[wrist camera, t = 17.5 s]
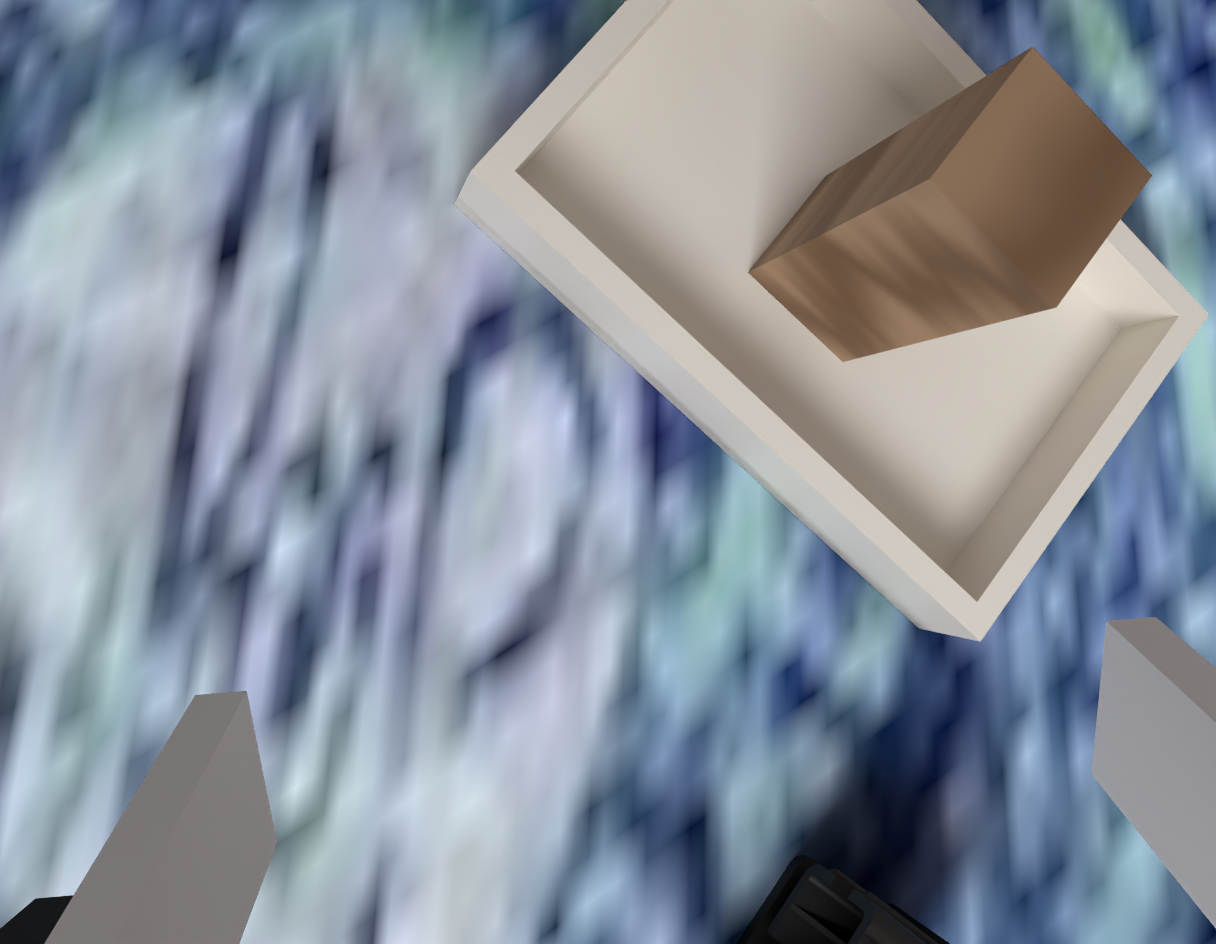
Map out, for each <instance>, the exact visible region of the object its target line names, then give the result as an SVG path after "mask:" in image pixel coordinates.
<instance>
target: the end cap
mask: <svg viewBox="0 0 1216 944" xmlns="http://www.w3.org/2000/svg"><path fill="white" fill-rule="evenodd" d="M737 944H950V943H948V942H947V941H945V940H944V939H942V938H941V937H939V936H938V935H937V934H935V933H934V932H932V931H931V930H929V929H928V928H927V927H925V926H924V925H922V924H921V923H919V922H918V921H916V920H915V919H914V918H912V917H911V916H909V915H908V914H906V913H905V912H903V911H902V910H901V909H899V908H898V907H896V906H895V905H893V904H888V905H887V904H886V903H885V902H883V901H882V900H881V899H879V898H878V897H877V896H876V895H874V894H873V893H872V892H870V891H866V890H865V889H864V888H862V887H861V886H860V885H858V884H857V883H856V882H854V881H853V880H852V879H851V878H849V877H848V876H847V875H845V874H844V873H843V872H841V871H840V870H839V869H836V868H835V869H829V870H827V869H826V868H825V867H823V866H822V865H820V864H818V863H817V862H816V861H814V860H813V859H811V858H809V857H807V856H804V855H803V856H798V857H796V858H795V859H794V860H793V861H792V862H791V863H790V864H789V866H788V867H787V869H786V870H785V872H784V873H783V875H782V876H781V878H780V879H779V881H778V882H777V884H776V885H775V887H774V888H773V890H772V891H771V893H770V894H769V896H768V897H767V899H766V900H765V902H764V903H763V905H762V906H761V908H760V909H759V911H758V913H757V914H756V916H755V917H754V919H753V920H752V922H751V923H750V925H749V926H748V928H747V929H746V931H745V932H744V934H743V935H742V937H741V938H740V940H739V941H738V943H737Z"/></svg>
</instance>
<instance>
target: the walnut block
mask: <svg viewBox="0 0 1216 944" xmlns="http://www.w3.org/2000/svg"><path fill="white" fill-rule="evenodd" d="M1151 176H1152V175H1151V174H1150V173H1149V172H1148V171H1147V169H1146V168H1145V167H1144V166H1143V165H1142V164H1141V163H1140V162H1139V161H1138V160H1137V159H1136V158H1135V157H1134V155H1133V154H1132V153H1131V152H1130V151H1129V150H1128V149H1127V148H1126V147H1125V146H1124V145H1123V144H1122V143H1121V141H1120V140H1119V139H1118V138H1117V137H1116V136H1115V135H1114V134H1113V133H1112V132H1111V131H1110V130H1109V128H1108V127H1107V126H1106V125H1105V124H1104V123H1103V122H1102V121H1101V120H1100V119H1099V118H1098V117H1097V116H1096V114H1095V113H1094V112H1093V111H1092V110H1091V109H1090V108H1089V107H1088V106H1087V105H1086V104H1085V103H1084V102H1083V100H1082V99H1081V98H1080V97H1079V96H1078V95H1077V94H1076V93H1075V92H1074V91H1073V90H1072V89H1071V87H1070V86H1069V85H1068V84H1067V83H1066V82H1065V81H1064V80H1063V79H1062V78H1061V77H1060V76H1059V75H1058V73H1057V72H1056V71H1055V70H1054V69H1053V68H1052V67H1051V66H1050V65H1049V64H1048V63H1047V62H1046V61H1045V59H1044V58H1043V57H1042V56H1041V55H1040V54H1039V53H1038V52H1037V51H1036V50H1035V49H1034V48H1033V47H1031V48H1030V49H1028V50H1027V51H1025V52H1023V53H1022V54H1020V55H1019V56H1017V57H1015V58H1014V59H1012V60H1011V61H1009V62H1007V63H1006V64H1004V65H1003V66H1001V67H999V68H998V69H996V70H995V71H993V72H991V73H990V74H988V75H987V76H985V77H983V78H982V79H980V80H979V81H977V82H975V83H974V84H972V85H971V86H969V87H967V88H966V89H964V90H963V91H961V92H959V93H958V94H956V95H955V96H953V97H951V98H950V99H948V100H947V101H945V102H943V103H942V104H940V105H939V106H937V107H935V108H934V109H932V110H931V111H929V112H927V113H926V114H924V115H923V116H921V117H919V118H918V119H916V120H915V121H913V122H911V123H910V124H908V125H907V126H905V127H903V128H902V129H900V130H899V131H897V132H895V133H894V134H892V135H891V136H889V137H887V138H886V139H884V140H883V141H881V142H879V143H878V144H876V145H875V146H873V147H871V148H870V149H868V150H866V151H865V152H863V153H862V154H860V155H858V156H857V157H855V158H854V159H852V160H850V161H849V162H847V163H846V164H844V165H842V166H841V167H839V168H838V169H836V170H834V171H833V172H831V173H830V174H828V175H826V176H825V177H824V179H823V180H822V181H821V182H820V184H819V185H818V186H817V187H816V189H815V190H814V191H813V192H812V194H811V195H810V196H809V197H808V199H807V200H806V201H805V202H804V204H803V205H802V206H801V207H800V209H799V210H798V211H797V212H796V213H795V215H794V216H793V217H792V218H791V220H790V221H789V222H788V223H787V225H786V226H785V227H784V228H783V230H782V231H781V232H780V233H779V235H778V236H777V237H776V238H775V240H774V241H773V242H772V243H771V245H770V246H769V247H768V248H767V249H766V251H765V252H764V253H763V254H762V256H761V257H760V258H759V259H758V261H757V262H756V263H755V264H754V266H753V267H752V268H751V269H750V271H749V272H748V273H749V274H750V275H751V276H752V277H753V278H754V279H755V280H756V281H757V282H758V283H759V284H761V285H762V286H763V287H764V288H765V289H766V290H767V291H768V292H769V293H770V294H771V295H772V296H773V297H774V298H775V299H776V300H777V301H778V302H780V303H781V304H782V305H783V306H784V307H785V308H786V309H787V310H788V311H789V312H790V313H791V314H792V315H793V316H794V317H795V318H796V319H798V320H799V321H800V322H801V323H802V324H803V325H804V326H805V327H806V328H807V329H808V330H809V331H810V332H811V333H812V334H813V335H814V336H816V337H817V338H818V339H819V340H820V341H821V342H822V343H823V344H824V345H825V346H826V347H827V348H828V349H829V350H830V351H831V352H832V353H834V354H835V355H836V356H837V357H838V358H839V359H840V360H841V361H842V362H845V361H849V360H853V359H857V358H861V357H865V356H869V355H873V354H877V353H881V352H885V351H889V350H892V349H896V348H900V347H904V346H908V345H912V344H916V343H920V342H924V341H928V340H932V339H935V338H939V337H943V336H947V335H951V334H955V333H959V332H963V331H967V330H971V329H975V328H978V327H982V326H986V325H990V324H994V323H998V322H1002V321H1006V320H1010V319H1014V318H1018V317H1022V316H1025V315H1029V314H1033V313H1037V312H1041V311H1045V310H1049V309H1053V308H1057V306H1058V305H1059V303H1060V302H1061V301H1062V299H1063V298H1064V296H1065V295H1066V294H1067V292H1068V291H1069V290H1070V288H1071V287H1072V285H1073V284H1074V283H1075V281H1076V280H1077V279H1078V277H1079V276H1080V274H1081V273H1082V272H1083V270H1084V269H1085V267H1086V266H1087V265H1088V263H1089V262H1090V261H1091V259H1092V258H1093V256H1094V255H1095V254H1096V252H1097V251H1098V250H1099V248H1100V247H1101V245H1102V244H1103V243H1104V241H1105V240H1106V238H1107V237H1108V236H1109V234H1110V233H1111V232H1112V230H1113V229H1114V227H1115V226H1116V225H1117V223H1118V222H1119V221H1120V219H1121V218H1122V216H1123V215H1124V214H1125V212H1126V211H1127V209H1128V208H1129V207H1130V205H1131V204H1132V203H1133V201H1134V200H1135V198H1136V197H1137V196H1138V194H1139V193H1140V191H1141V190H1142V189H1143V187H1144V186H1145V185H1146V183H1147V182H1148V180H1149V179H1150V178H1151Z"/></svg>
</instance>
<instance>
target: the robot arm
mask: <svg viewBox="0 0 1216 944" xmlns="http://www.w3.org/2000/svg"><path fill="white" fill-rule="evenodd" d="M1092 775H1093V776H1094V778H1095V779H1096V780H1097V781H1098V783H1099V784H1100V785H1101V786H1102V788H1103V789H1104V790H1105V791H1106V793H1107V794H1108V795H1109V796H1110V798H1111V799H1112V800H1113V801H1114V803H1115V804H1116V805H1117V806H1118V808H1119V809H1120V810H1121V811H1122V813H1123V814H1124V815H1125V816H1126V818H1127V819H1128V820H1129V821H1130V822H1131V824H1132V825H1133V826H1134V827H1135V829H1136V830H1137V831H1138V832H1139V834H1140V835H1141V836H1142V837H1143V839H1144V840H1145V841H1146V842H1147V844H1148V845H1149V846H1150V847H1151V849H1152V850H1153V851H1154V852H1155V854H1156V855H1157V856H1158V857H1159V859H1160V860H1161V861H1162V862H1163V863H1164V865H1165V866H1166V867H1167V868H1168V870H1169V871H1170V872H1171V873H1172V875H1173V876H1174V877H1175V878H1176V880H1177V881H1178V882H1179V883H1180V885H1181V886H1182V887H1183V888H1184V890H1185V891H1186V892H1187V893H1188V895H1189V896H1190V897H1191V898H1192V900H1193V901H1194V902H1195V903H1196V904H1197V906H1198V907H1199V908H1200V909H1201V911H1202V912H1203V913H1204V914H1205V916H1206V917H1207V918H1208V919H1209V921H1210V922H1211V923H1212V924H1213V926H1214V927H1215V928H1216V668H1215V667H1214V666H1213V665H1211V664H1210V663H1209V662H1208V661H1207V660H1205V659H1204V658H1203V657H1202V656H1201V655H1200V654H1198V653H1197V652H1196V651H1195V650H1194V649H1193V648H1191V647H1190V646H1189V645H1188V644H1187V643H1185V642H1184V641H1183V640H1182V639H1181V638H1180V637H1178V636H1177V635H1176V634H1175V633H1174V632H1173V631H1171V630H1170V629H1169V628H1168V627H1167V626H1165V625H1164V624H1163V623H1162V622H1161V621H1160V620H1158V619H1157V618H1156V617H1151V618H1139V619H1127V620H1114V621H1106V631H1105V641H1104V652H1103V662H1102V672H1101V682H1100V692H1099V703H1098V713H1097V723H1096V733H1095V743H1094V754H1093V764H1092ZM276 844H277V841H276V836H275V831H274V826H273V821H272V816H271V811H270V806H269V801H268V796H267V791H266V786H265V781H264V776H263V771H262V766H261V761H260V756H259V751H258V746H257V741H256V736H255V731H254V726H253V721H252V716H251V711H250V706H249V701H248V696H247V691H241V692H228V693H216V694H204V695H195V697H194V698H193V700H192V702H191V703H190V705H189V706H188V708H187V710H186V711H185V713H184V715H183V716H182V718H181V720H180V721H179V723H178V725H177V726H176V728H175V729H174V731H173V733H172V734H171V736H170V738H169V739H168V741H167V743H166V744H165V746H164V748H163V749H162V751H161V753H160V754H159V756H158V757H157V759H156V761H155V762H154V764H153V766H152V767H151V769H150V771H149V772H148V774H147V776H146V777H145V779H144V781H143V782H142V784H141V785H140V787H139V789H138V790H137V792H136V794H135V795H134V797H133V799H132V800H131V802H130V804H129V805H128V807H127V809H126V810H125V812H124V813H123V815H122V817H121V818H120V820H119V822H118V823H117V825H116V827H115V828H114V830H113V832H112V833H111V835H110V837H109V838H108V840H107V841H106V843H105V845H104V846H103V848H102V850H101V851H100V853H99V855H98V856H97V858H96V860H95V861H94V863H93V864H92V866H91V868H90V869H89V871H88V873H87V874H86V876H85V878H84V879H83V881H82V883H81V884H80V886H79V888H78V889H77V891H76V892H75V894H74V895H73V896H61V897H49V898H38V899H35V900H33V901H32V902H31V903H30V904H29V905H28V906H26V907H25V908H24V909H23V910H22V911H20V912H19V913H18V914H17V915H16V916H15V917H13V918H12V919H11V920H10V921H9V922H8V923H6V924H5V925H4V926H3V927H2V928H1V929H0V944H239V943H240V940H241V938H242V935H243V932H244V930H245V927H246V924H247V922H248V919H249V916H250V914H251V911H252V908H253V906H254V903H255V900H256V898H257V895H258V892H259V890H260V887H261V884H262V882H263V879H264V876H265V874H266V871H267V868H268V866H269V863H270V860H271V858H272V855H273V852H274V850H275V847H276Z"/></svg>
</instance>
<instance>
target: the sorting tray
mask: <svg viewBox="0 0 1216 944" xmlns="http://www.w3.org/2000/svg"><path fill="white" fill-rule="evenodd" d="M985 76H987V75H986V74H985V73H984V72H983V71H982V70H981V69H980V68H979V67H978V66H977V65H976V64H975V62H974V61H973V60H972V59H971V58H970V57H969V56H968V55H967V54H966V53H965V52H964V51H963V50H962V49H961V47H960V46H959V45H958V44H957V43H956V42H955V41H954V40H953V39H952V38H951V37H950V36H949V35H948V33H947V32H946V31H945V30H944V29H943V28H942V27H941V26H940V25H939V24H938V23H937V22H936V21H935V19H934V18H933V17H932V16H931V15H930V14H929V13H928V12H927V11H926V10H925V9H924V8H923V7H922V6H921V4H920V3H919V2H918V1H917V0H626V1H625V2H624V4H623V5H622V6H621V7H620V8H619V9H618V10H617V11H616V12H615V13H614V15H613V16H612V17H611V18H610V19H609V20H608V21H607V22H606V23H605V24H604V25H603V27H602V28H601V29H600V30H599V31H598V32H597V33H596V34H595V35H594V36H593V37H592V39H591V40H590V41H589V42H588V43H587V44H586V45H585V46H584V47H583V48H582V50H581V51H580V52H579V53H578V54H577V55H576V56H575V57H574V58H573V59H572V60H571V62H570V63H569V64H568V65H567V66H566V67H565V68H564V69H563V70H562V71H561V73H560V74H559V75H558V76H557V77H556V78H555V79H554V80H553V81H552V82H551V83H550V85H549V86H548V87H547V88H546V89H545V90H544V91H543V92H542V93H541V94H540V96H539V97H538V98H537V99H536V100H535V101H534V102H533V103H532V104H531V105H530V106H529V108H528V109H527V110H526V111H525V112H524V113H523V114H522V115H521V116H520V117H519V119H518V120H517V121H516V122H515V123H514V124H513V125H512V126H511V127H510V128H509V129H508V131H507V132H506V133H505V134H504V135H503V136H502V137H501V138H500V139H499V140H498V142H497V143H496V144H495V145H494V146H493V147H492V148H491V149H490V150H489V151H488V152H487V154H486V155H485V156H484V157H483V158H482V159H481V160H480V161H479V162H478V163H477V164H476V166H475V167H474V168H473V169H472V170H471V171H470V173H469V175H468V177H467V179H466V181H465V183H464V185H463V187H462V189H461V191H460V194H459V196H458V198H457V200H456V202H455V204H454V205H455V206H456V207H457V208H458V209H460V210H461V211H462V212H463V213H464V214H465V215H466V216H467V217H468V218H469V219H471V220H472V221H473V222H474V223H475V224H476V225H477V226H478V227H479V228H480V229H482V230H483V231H484V232H485V233H486V234H487V235H488V236H489V237H490V238H491V239H493V240H494V241H495V242H496V243H497V244H498V245H499V246H500V247H501V248H502V249H503V250H505V251H506V252H507V253H508V254H509V255H510V256H511V257H512V258H513V259H514V260H516V261H517V262H518V263H519V264H520V265H521V266H522V267H523V268H524V269H525V270H527V271H528V272H529V273H530V274H531V275H532V276H533V277H534V278H535V279H536V280H537V281H539V282H540V283H541V284H542V285H543V286H544V287H545V288H546V289H547V290H548V291H550V292H551V293H552V294H553V295H554V296H555V297H556V298H557V299H558V300H559V301H561V302H562V303H563V304H564V305H565V306H566V307H567V308H568V309H569V310H570V311H571V312H573V313H574V314H575V315H576V316H577V317H578V318H579V319H580V320H581V321H582V322H584V323H585V324H586V325H587V326H588V327H589V328H590V329H591V330H592V331H593V332H595V333H596V334H597V335H598V336H599V337H600V338H601V339H602V340H603V341H604V342H605V343H607V344H608V345H609V346H610V347H611V348H612V349H613V350H614V351H615V352H616V353H618V354H619V355H620V356H621V357H622V358H623V359H624V360H625V361H626V362H627V363H629V364H630V365H631V366H632V367H633V368H634V369H635V370H636V371H637V372H638V373H639V374H641V375H642V376H643V377H644V378H645V379H646V380H647V381H648V382H649V383H650V384H652V385H653V386H654V387H655V388H656V389H657V390H658V391H659V392H660V393H661V394H663V395H664V396H665V397H666V398H667V399H668V400H669V401H670V402H671V403H672V404H673V405H675V406H676V407H677V408H678V409H679V410H680V411H681V412H682V413H683V414H684V415H686V416H687V417H688V418H689V419H690V420H691V421H692V422H693V423H694V424H695V425H697V426H698V427H699V428H700V429H701V430H702V431H703V432H704V433H705V434H706V435H707V436H709V437H710V438H711V439H712V440H713V441H714V442H715V443H716V444H717V445H718V446H720V447H721V448H722V449H723V450H724V451H725V452H726V453H727V454H728V455H729V456H731V457H732V458H733V459H734V460H735V461H736V462H737V463H738V464H739V465H740V466H741V467H743V468H744V469H745V470H746V471H747V472H748V473H749V474H750V475H751V476H752V477H754V478H755V479H756V480H757V481H758V482H759V483H760V484H761V485H762V486H763V487H765V488H766V489H767V490H768V491H769V492H770V493H771V494H772V495H773V496H774V497H775V498H777V499H778V500H779V501H780V502H781V503H782V504H783V505H784V506H785V507H786V508H788V509H789V510H790V511H791V512H792V513H793V514H794V515H795V516H796V517H797V518H799V519H800V520H801V521H802V522H803V523H804V524H805V525H806V526H807V527H808V528H809V529H811V530H812V531H813V532H814V533H815V534H816V535H817V536H818V537H819V538H820V539H822V540H823V541H824V542H825V543H826V544H827V545H828V546H829V547H830V548H831V549H833V550H834V551H835V552H836V553H837V554H838V555H839V556H840V557H841V558H842V559H843V560H845V561H846V562H847V563H848V564H849V565H850V566H851V567H852V568H853V569H854V570H856V571H857V572H858V573H859V574H860V575H861V576H862V577H863V578H864V579H865V580H867V581H868V582H869V583H870V584H871V585H872V586H873V587H874V588H875V589H876V590H877V591H879V592H880V593H881V594H882V595H883V596H884V597H885V598H886V599H887V600H888V601H890V602H891V603H892V604H893V605H894V606H895V607H896V608H897V609H898V610H899V611H901V612H902V613H903V614H904V615H905V616H906V617H907V618H908V619H909V620H910V621H911V622H913V623H914V624H915V625H916V626H917V627H918V628H920V629H924V630H929V631H934V632H938V633H943V634H948V635H952V636H957V637H962V638H967V639H971V640H976V641H981V640H982V638H983V637H984V636H985V634H986V633H987V631H988V630H989V628H990V627H991V626H992V624H993V623H994V621H995V620H996V618H997V617H998V616H999V614H1000V613H1001V611H1002V610H1003V608H1004V607H1005V606H1006V604H1007V603H1008V601H1009V600H1010V598H1011V597H1012V596H1013V594H1014V593H1015V591H1016V590H1017V588H1018V587H1019V586H1020V584H1021V583H1022V581H1023V580H1024V578H1025V577H1026V576H1027V574H1028V573H1029V571H1030V570H1031V568H1032V567H1033V566H1034V564H1035V563H1036V561H1037V560H1038V558H1039V557H1040V556H1041V554H1042V553H1043V551H1044V550H1045V548H1046V547H1047V546H1048V544H1049V543H1050V541H1051V540H1052V538H1053V537H1054V536H1055V534H1056V533H1057V531H1058V530H1059V528H1060V527H1061V525H1062V524H1063V523H1064V521H1065V520H1066V518H1067V517H1068V515H1069V514H1070V513H1071V511H1072V510H1073V508H1074V507H1075V505H1076V504H1077V503H1078V501H1079V500H1080V498H1081V497H1082V495H1083V494H1084V493H1085V491H1086V490H1087V488H1088V487H1089V485H1090V484H1091V483H1092V481H1093V480H1094V478H1095V477H1096V475H1097V474H1098V473H1099V471H1100V470H1101V468H1102V467H1103V465H1104V464H1105V463H1106V461H1107V460H1108V458H1109V457H1110V455H1111V454H1112V453H1113V451H1114V450H1115V448H1116V447H1117V445H1118V444H1119V443H1120V441H1121V440H1122V438H1123V437H1124V435H1125V434H1126V433H1127V431H1128V430H1129V428H1130V427H1131V425H1132V424H1133V423H1134V421H1135V420H1136V418H1137V417H1138V415H1139V414H1140V413H1141V411H1142V410H1143V408H1144V407H1145V405H1146V404H1147V403H1148V401H1149V400H1150V398H1151V397H1152V395H1153V394H1154V392H1155V391H1156V390H1157V388H1158V387H1159V385H1160V384H1161V382H1162V381H1163V380H1164V378H1165V377H1166V375H1167V374H1168V372H1169V371H1170V370H1171V368H1172V367H1173V365H1174V364H1175V362H1176V361H1177V360H1178V358H1179V357H1180V355H1181V354H1182V352H1183V351H1184V350H1185V348H1186V347H1187V345H1188V344H1189V342H1190V341H1191V340H1192V338H1193V337H1194V335H1195V334H1196V332H1197V331H1198V330H1199V328H1200V327H1201V325H1202V324H1203V322H1204V321H1205V320H1206V318H1207V317H1208V315H1209V314H1208V313H1207V312H1206V311H1205V310H1204V309H1203V308H1202V307H1201V305H1200V304H1199V303H1198V302H1197V301H1196V300H1195V299H1194V298H1193V297H1192V296H1191V295H1190V294H1189V293H1188V291H1187V290H1186V289H1185V288H1184V287H1183V286H1182V285H1181V284H1180V283H1179V282H1178V281H1177V280H1176V279H1175V278H1174V276H1173V275H1172V274H1171V273H1170V272H1169V271H1168V270H1167V269H1166V268H1165V267H1164V266H1163V265H1162V264H1161V262H1160V261H1159V260H1158V259H1157V258H1156V257H1155V256H1154V255H1153V254H1152V253H1151V252H1150V251H1149V250H1148V248H1147V247H1146V246H1145V245H1144V244H1143V243H1142V242H1141V241H1140V240H1139V239H1138V238H1137V237H1136V236H1135V235H1134V233H1133V232H1132V231H1131V230H1130V229H1129V228H1128V227H1127V226H1126V225H1125V224H1124V223H1123V222H1122V221H1121V219H1120V221H1119V222H1118V223H1117V225H1116V226H1115V227H1114V229H1113V230H1112V232H1111V233H1110V234H1109V236H1108V237H1107V238H1106V240H1105V241H1104V243H1103V244H1102V245H1101V247H1100V248H1099V250H1098V251H1097V252H1096V254H1095V255H1094V256H1093V258H1092V259H1091V261H1090V262H1089V263H1088V265H1087V266H1086V267H1085V269H1084V270H1083V272H1082V273H1081V274H1080V276H1079V277H1078V279H1077V280H1076V281H1075V283H1074V284H1073V285H1072V287H1071V288H1070V290H1069V291H1068V292H1067V294H1066V295H1065V296H1064V298H1063V299H1062V301H1061V302H1060V303H1059V305H1058V306H1057V308H1053V309H1049V310H1045V311H1041V312H1037V313H1033V314H1029V315H1025V316H1022V317H1018V318H1014V319H1010V320H1006V321H1002V322H998V323H994V324H990V325H986V326H982V327H978V328H975V329H971V330H967V331H963V332H959V333H955V334H951V335H947V336H943V337H939V338H935V339H932V340H928V341H924V342H920V343H916V344H912V345H908V346H904V347H900V348H896V349H892V350H889V351H885V352H881V353H877V354H873V355H869V356H865V357H861V358H857V359H853V360H849V361H845V362H842V361H841V360H840V359H839V358H838V357H837V356H836V355H835V354H834V353H832V352H831V351H830V350H829V349H828V348H827V347H826V346H825V345H824V344H823V343H822V342H821V341H820V340H819V339H818V338H817V337H816V336H814V335H813V334H812V333H811V332H810V331H809V330H808V329H807V328H806V327H805V326H804V325H803V324H802V323H801V322H800V321H799V320H798V319H796V318H795V317H794V316H793V315H792V314H791V313H790V312H789V311H788V310H787V309H786V308H785V307H784V306H783V305H782V304H781V303H780V302H778V301H777V300H776V299H775V298H774V297H773V296H772V295H771V294H770V293H769V292H768V291H767V290H766V289H765V288H764V287H763V286H762V285H761V284H759V283H758V282H757V281H756V280H755V279H754V278H753V277H752V276H751V275H750V274H749V273H748V272H749V271H750V269H751V268H752V267H753V266H754V264H755V263H756V262H757V261H758V259H759V258H760V257H761V256H762V254H763V253H764V252H765V251H766V249H767V248H768V247H769V246H770V245H771V243H772V242H773V241H774V240H775V238H776V237H777V236H778V235H779V233H780V232H781V231H782V230H783V228H784V227H785V226H786V225H787V223H788V222H789V221H790V220H791V218H792V217H793V216H794V215H795V213H796V212H797V211H798V210H799V209H800V207H801V206H802V205H803V204H804V202H805V201H806V200H807V199H808V197H809V196H810V195H811V194H812V192H813V191H814V190H815V189H816V187H817V186H818V185H819V184H820V182H821V181H822V180H823V179H824V177H825V176H826V175H828V174H830V173H831V172H833V171H834V170H836V169H838V168H839V167H841V166H842V165H844V164H846V163H847V162H849V161H850V160H852V159H854V158H855V157H857V156H858V155H860V154H862V153H863V152H865V151H866V150H868V149H870V148H871V147H873V146H875V145H876V144H878V143H879V142H881V141H883V140H884V139H886V138H887V137H889V136H891V135H892V134H894V133H895V132H897V131H899V130H900V129H902V128H903V127H905V126H907V125H908V124H910V123H911V122H913V121H915V120H916V119H918V118H919V117H921V116H923V115H924V114H926V113H927V112H929V111H931V110H932V109H934V108H935V107H937V106H939V105H940V104H942V103H943V102H945V101H947V100H948V99H950V98H951V97H953V96H955V95H956V94H958V93H959V92H961V91H963V90H964V89H966V88H967V87H969V86H971V85H972V84H974V83H975V82H977V81H979V80H980V79H982V78H983V77H985Z"/></svg>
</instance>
